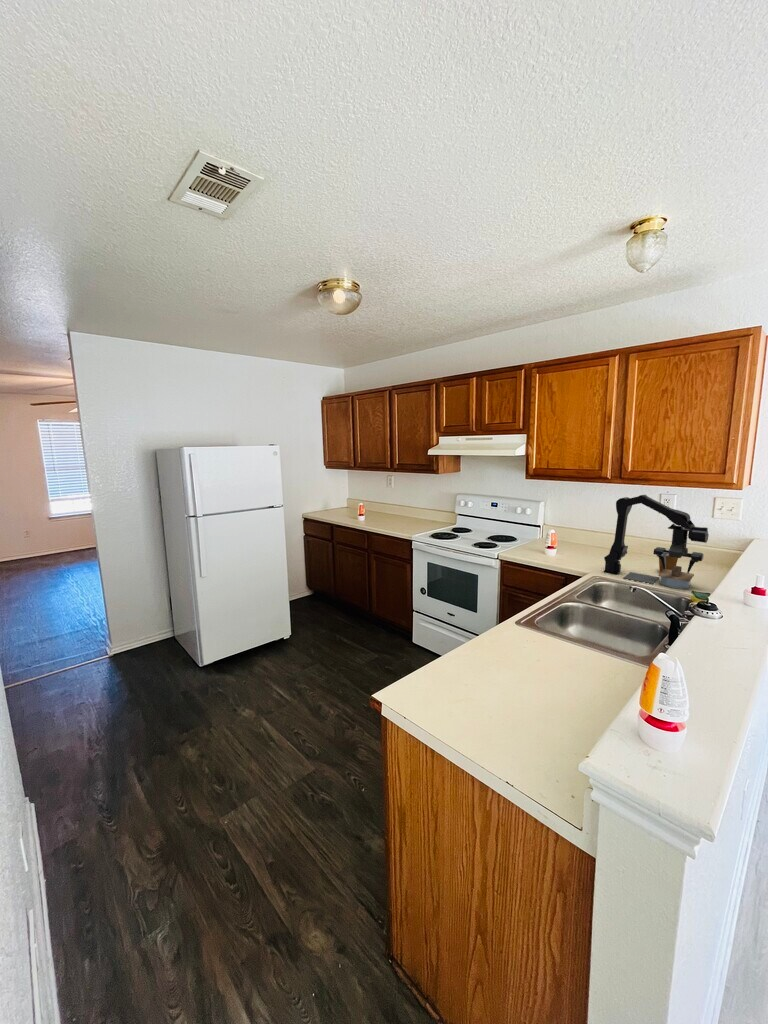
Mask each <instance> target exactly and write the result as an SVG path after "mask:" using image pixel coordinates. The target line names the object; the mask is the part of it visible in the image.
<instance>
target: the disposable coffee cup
mask: <svg viewBox="0 0 768 1024" xmlns="http://www.w3.org/2000/svg"><path fill="white" fill-rule="evenodd" d="M669 549H670V548H666V550H669ZM678 560H679V558H677V557H670V556H669V554H666V569H667V570H672V569H673V568H674V567H675V566H677V563H678ZM658 566H659V567H658V568H659V569H658V570H659V573H660V572H661V571H663V570H664V568H663V565H662V561H661V559H660V558H659V557H658Z"/></svg>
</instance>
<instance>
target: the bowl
mask: <svg viewBox="0 0 768 1024" xmlns="http://www.w3.org/2000/svg"><path fill="white" fill-rule="evenodd" d="M691 581H692V579H691V580H690V582H688V581H682V580H676V579H671V578H665V577H660V584H661V585H663V586H665V585H666V586H665V587H668V586H669V587H668V588H672V587H673V589H679V588H686V589H689V588H690V586H691Z"/></svg>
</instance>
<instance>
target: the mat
mask: <svg viewBox="0 0 768 1024" xmlns="http://www.w3.org/2000/svg"><path fill="white" fill-rule="evenodd" d="M659 578H660V579H661V577H659V576H656V575H655V576H654V575H649V574H644V573H643V574H642V573H637V572H632V571H630V572H629V573H627V574H626V575H625V576H623V577H622V579H623V580H626V579H628V580H627V581H631V580H634V581H633V582H637V581H640V582H639V583H642V582H645V583H644V584H647V583H649V584H648V585H653V584H654V583H655V582H656V581H657V580H658V579H659ZM660 579H659V580H660ZM659 580H658V581H659ZM658 581H657V582H658ZM657 582H656V583H657ZM656 583H655V584H656ZM655 584H654V585H655Z"/></svg>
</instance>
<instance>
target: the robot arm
mask: <svg viewBox="0 0 768 1024" xmlns="http://www.w3.org/2000/svg"><path fill="white" fill-rule="evenodd" d="M639 504H641V505H643V506H646V507H647V508H649V509H651V510H653V511H656V512H657V513H660V514H661V515H663V516H664V517H666V518H667V519H668V520H669V521H670V522H671V523H672V524H671V525H670V526H668V527H667V529H669V530H672V535H671V536H672V537H671V543H670V546H669V548H668V549H669V550H666V549H667V548H666V547H660V546H657V547H655V548H654V549H653V555H656V557H657V558H658V559H659V558H660V559H661V561H662V565H663V568H664V570H665V569H666V554H669V556H670V557H677V558H678V559H681V558H682V557H685V558H690V559H689V564H688V568H687V572H686V573H687V574H688V573H691V572H690V571H691V570H692V568H693V567H694V564H696V563H699V562H702V561H703V560H704V553H702V552H696V551H692V552H691V553H690V552H689V548H688V547H687V545H688V543H687V542H688V539H689V540H690V541H691V542H697V543H705V544H707V542H708V540H709V536H710V535H709V531H708V527H701V526H696V525H695V524H694V522H693V521H692V520H691V516H690V514H689V513H687V512H685V511H682V510H679V509H674V508H671V507H669V506H668V505H665V504H663V503H662V502H659V501H657V500H656V499H653V498H652V497H650V496H648V495H647V494H641V495H638V496H633V497H628V496H626V497H621V498H618V499H617V500H616V502H615V509H616V513H617V519H616V527H615V533H614V541H613V543H612V545H611V547H610V549H609V552H608V553H607V555H605V556H604V562H605V563H604V570H603V573H607V574H613V575H618V574H619V573H621V571H622V564H621V560H622V558H624V557H625V556H626V555H627V554H628V548H629V546H628V545H626V544H625V538H626V537H625V536H626V530H627V525H628V524H627V523H628V517H629V514H630V512H631V510H632V507H633V506H634V505H639ZM688 552H689V553H688Z"/></svg>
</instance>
